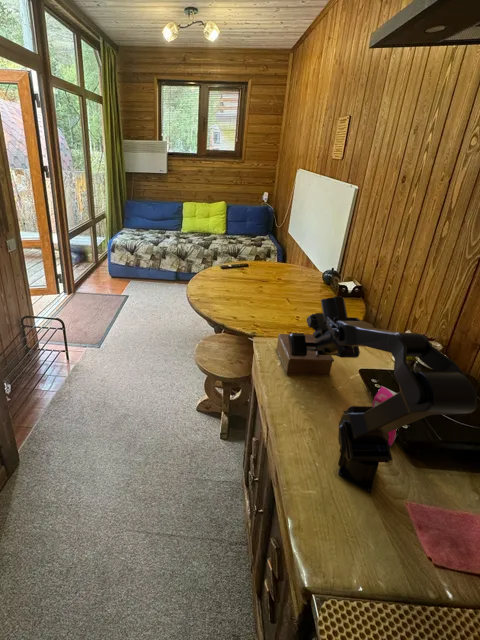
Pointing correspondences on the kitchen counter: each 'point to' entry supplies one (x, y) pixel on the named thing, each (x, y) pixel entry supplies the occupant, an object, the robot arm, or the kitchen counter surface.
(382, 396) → the supplement box
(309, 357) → the lid
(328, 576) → the kitchen counter surface
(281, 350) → the chest
